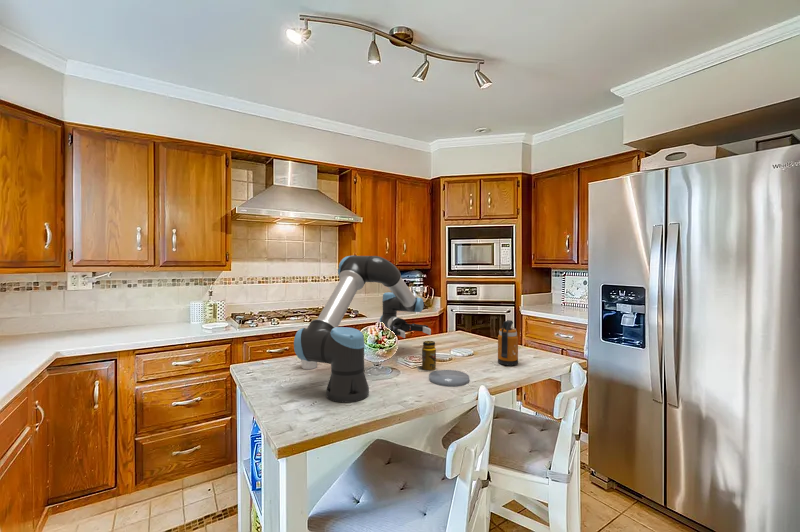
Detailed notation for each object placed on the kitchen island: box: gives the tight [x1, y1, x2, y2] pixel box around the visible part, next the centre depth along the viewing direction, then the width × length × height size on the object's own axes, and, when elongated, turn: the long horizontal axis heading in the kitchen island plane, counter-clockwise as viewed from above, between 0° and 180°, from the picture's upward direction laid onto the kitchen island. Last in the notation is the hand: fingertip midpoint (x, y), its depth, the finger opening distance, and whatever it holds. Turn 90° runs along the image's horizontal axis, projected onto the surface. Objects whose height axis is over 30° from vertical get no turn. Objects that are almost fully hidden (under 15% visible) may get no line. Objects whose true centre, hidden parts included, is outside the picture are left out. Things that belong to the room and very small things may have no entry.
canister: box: [497, 319, 519, 367], centre depth 172 cm, size 9×11×20 cm
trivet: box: [428, 369, 470, 387], centre depth 151 cm, size 16×16×2 cm
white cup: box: [300, 359, 318, 370], centre depth 167 cm, size 8×8×10 cm
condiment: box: [415, 340, 438, 372], centre depth 165 cm, size 7×8×12 cm
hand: (417, 333), depth 173 cm, fingers open, 13 cm apart
